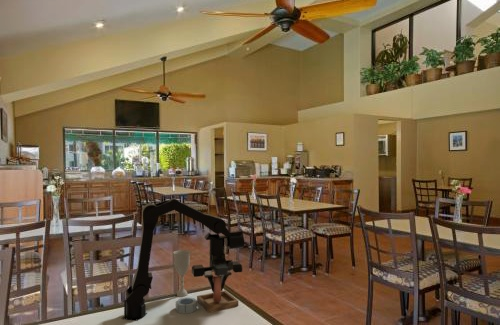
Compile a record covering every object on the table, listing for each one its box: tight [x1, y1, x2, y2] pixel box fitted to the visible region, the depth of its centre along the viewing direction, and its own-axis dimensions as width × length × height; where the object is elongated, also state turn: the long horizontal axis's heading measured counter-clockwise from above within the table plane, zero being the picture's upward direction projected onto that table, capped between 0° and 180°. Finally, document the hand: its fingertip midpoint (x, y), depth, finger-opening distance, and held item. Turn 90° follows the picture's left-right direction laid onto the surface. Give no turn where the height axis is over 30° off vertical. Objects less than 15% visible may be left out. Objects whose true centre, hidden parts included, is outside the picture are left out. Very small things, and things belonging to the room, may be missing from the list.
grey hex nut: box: [175, 296, 198, 315], centre depth 124 cm, size 7×7×3 cm
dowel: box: [212, 274, 221, 302], centre depth 129 cm, size 3×3×9 cm
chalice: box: [173, 249, 192, 298], centre depth 138 cm, size 7×7×18 cm
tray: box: [196, 290, 239, 314], centre depth 129 cm, size 12×12×2 cm
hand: (217, 291), depth 129 cm, fingers closed on dowel, 3 cm apart
